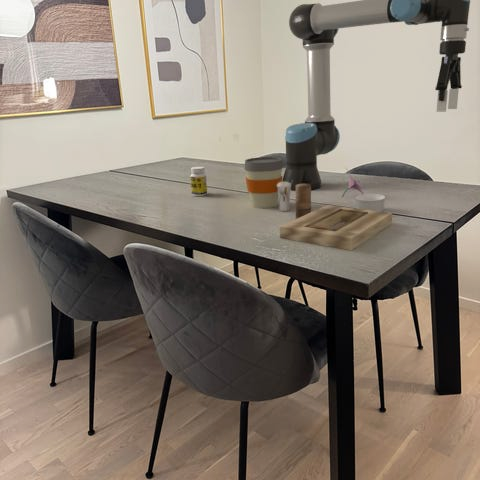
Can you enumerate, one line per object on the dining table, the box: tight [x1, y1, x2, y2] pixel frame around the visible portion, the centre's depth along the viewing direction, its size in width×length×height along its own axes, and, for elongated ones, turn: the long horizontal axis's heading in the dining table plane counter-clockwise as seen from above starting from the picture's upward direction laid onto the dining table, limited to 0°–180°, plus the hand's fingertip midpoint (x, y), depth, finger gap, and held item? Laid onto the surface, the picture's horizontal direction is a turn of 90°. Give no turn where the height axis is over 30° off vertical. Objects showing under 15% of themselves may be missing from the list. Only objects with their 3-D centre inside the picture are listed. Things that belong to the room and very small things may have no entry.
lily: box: [341, 166, 365, 198], centre depth 165 cm, size 12×12×10 cm
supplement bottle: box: [190, 166, 208, 197], centre depth 178 cm, size 6×6×10 cm
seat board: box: [279, 204, 393, 251], centre depth 128 cm, size 20×26×3 cm
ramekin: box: [355, 193, 386, 212], centre depth 146 cm, size 9×9×4 cm
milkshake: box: [277, 180, 293, 212], centre depth 150 cm, size 4×5×10 cm
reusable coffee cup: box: [244, 156, 284, 209], centre depth 157 cm, size 13×12×15 cm
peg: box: [295, 184, 312, 219], centre depth 140 cm, size 4×4×10 cm
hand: (446, 110), depth 157 cm, fingers open, 13 cm apart
